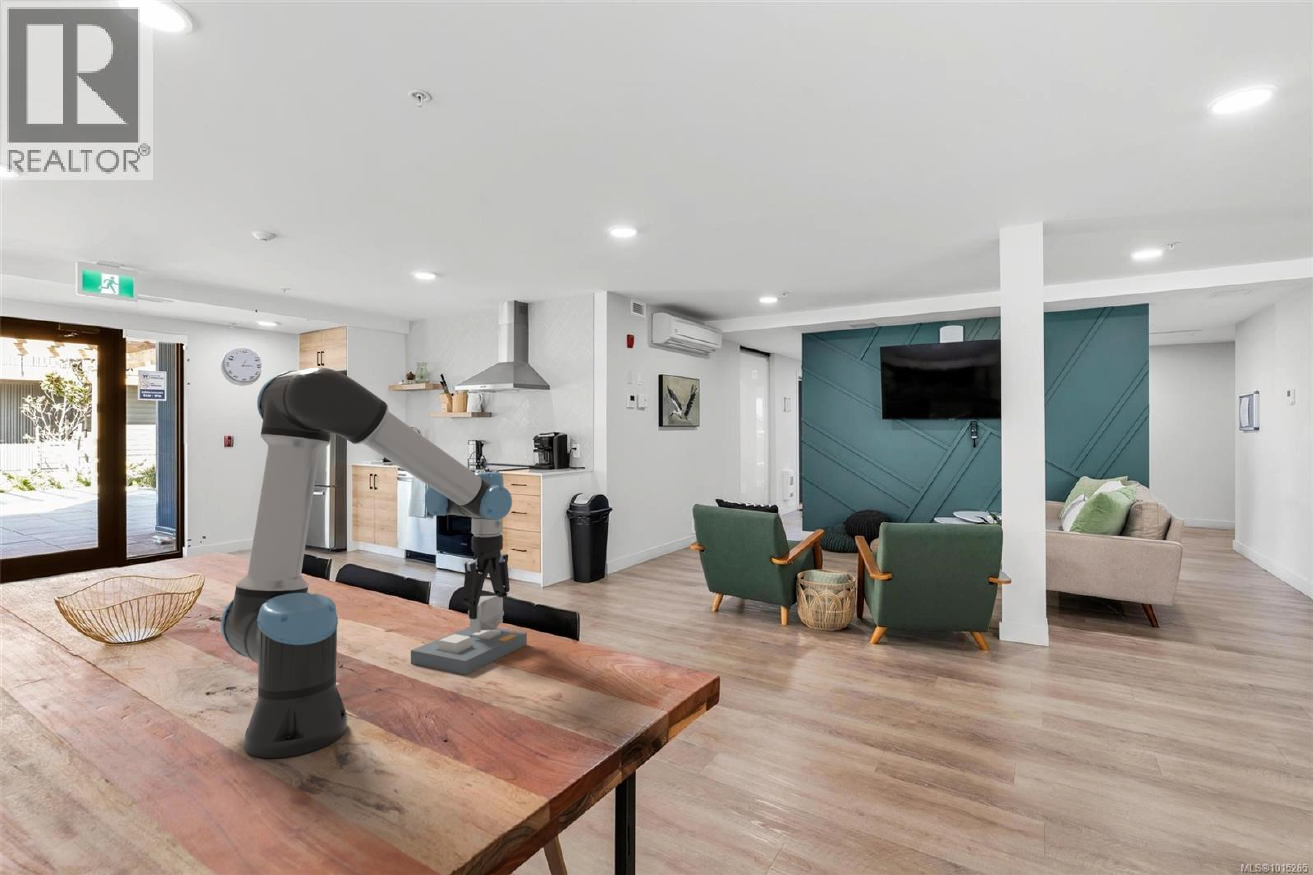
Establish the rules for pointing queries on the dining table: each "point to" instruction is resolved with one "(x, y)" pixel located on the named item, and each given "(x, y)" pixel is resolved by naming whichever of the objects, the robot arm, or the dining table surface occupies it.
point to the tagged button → (486, 634)
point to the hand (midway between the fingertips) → (486, 626)
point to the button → (455, 643)
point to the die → (490, 612)
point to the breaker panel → (469, 651)
